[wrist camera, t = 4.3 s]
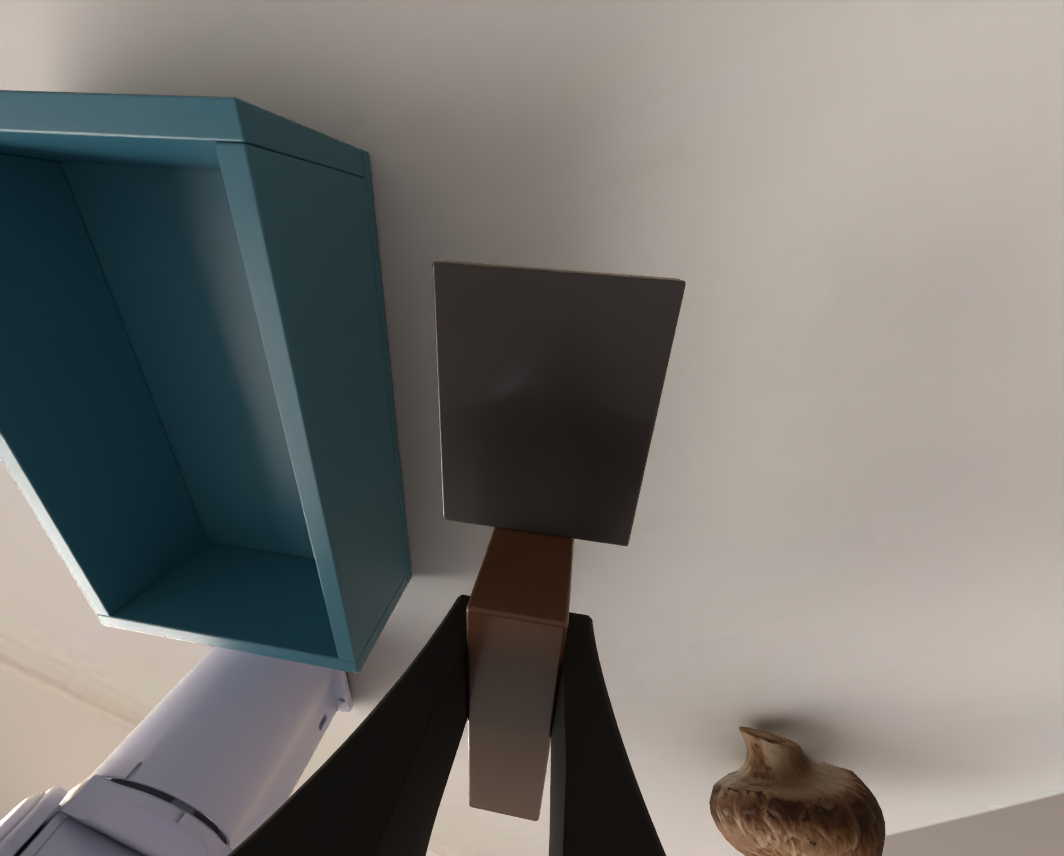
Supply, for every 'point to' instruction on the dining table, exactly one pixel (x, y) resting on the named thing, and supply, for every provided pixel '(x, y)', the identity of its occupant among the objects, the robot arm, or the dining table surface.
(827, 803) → the mushroom
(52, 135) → the bin
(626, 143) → the dining table surface
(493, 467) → the scraper
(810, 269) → the dining table surface
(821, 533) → the dining table surface
